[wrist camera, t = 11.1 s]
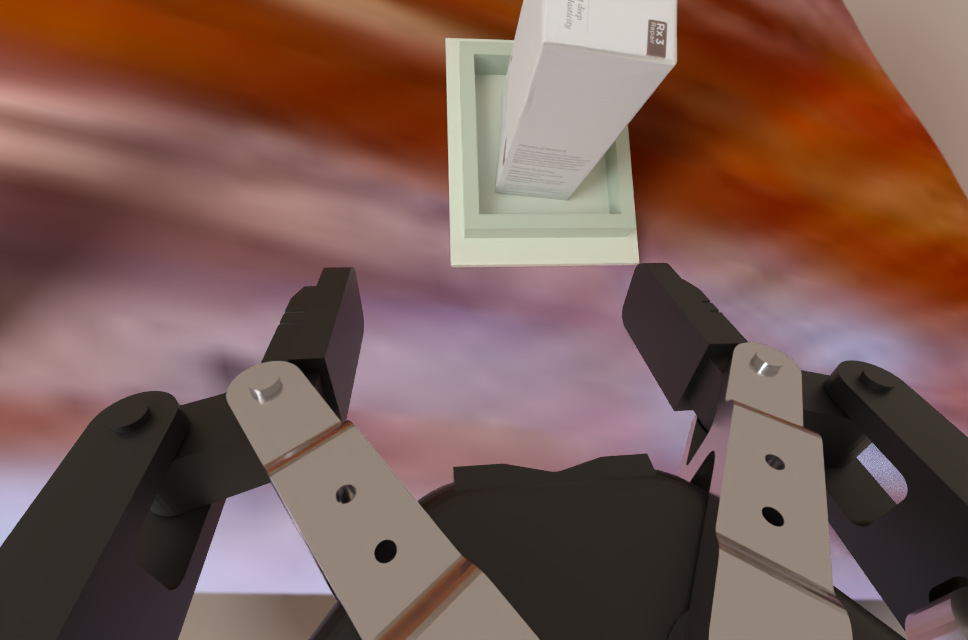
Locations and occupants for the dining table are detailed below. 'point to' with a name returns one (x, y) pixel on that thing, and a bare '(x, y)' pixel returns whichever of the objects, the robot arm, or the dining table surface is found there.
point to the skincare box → (577, 87)
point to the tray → (515, 218)
